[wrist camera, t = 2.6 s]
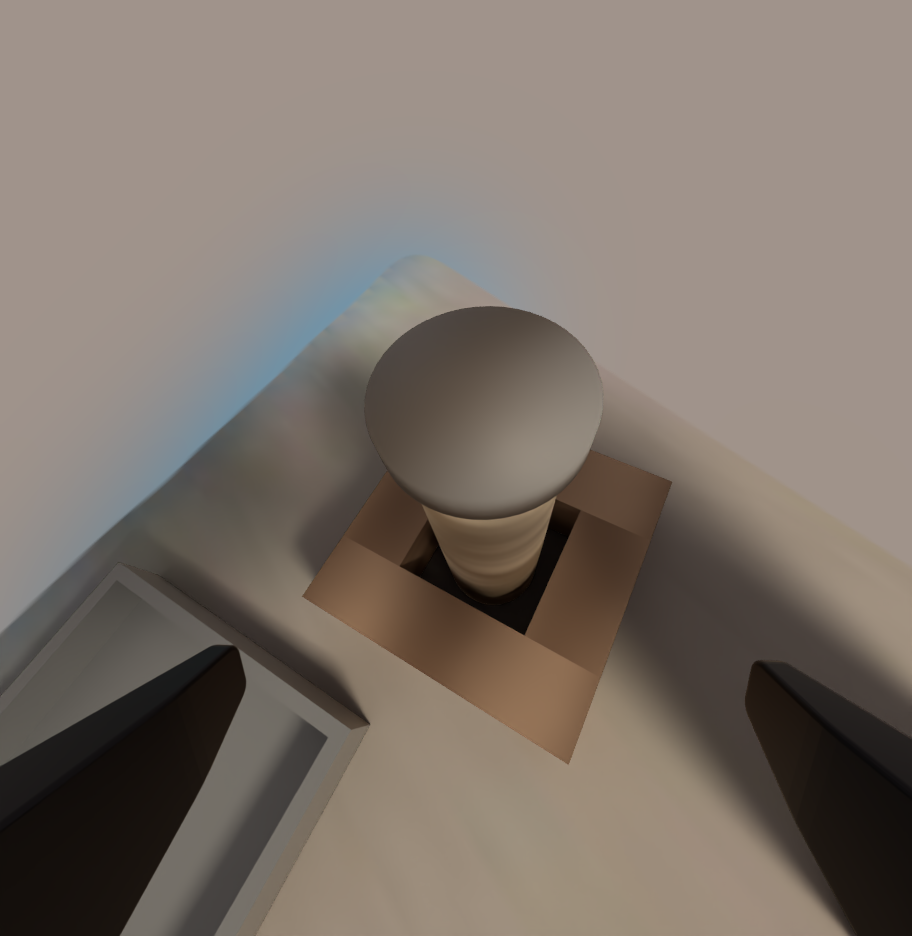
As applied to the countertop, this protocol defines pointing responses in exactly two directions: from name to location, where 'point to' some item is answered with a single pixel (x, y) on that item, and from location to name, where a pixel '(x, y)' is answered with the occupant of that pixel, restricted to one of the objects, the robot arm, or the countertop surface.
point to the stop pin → (485, 435)
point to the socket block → (482, 637)
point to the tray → (235, 767)
